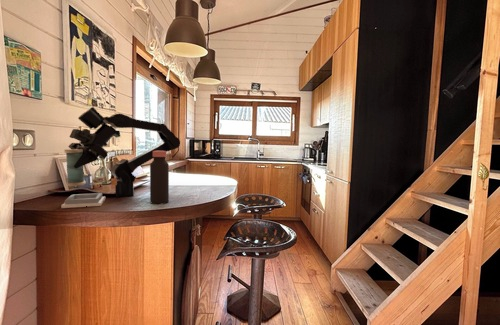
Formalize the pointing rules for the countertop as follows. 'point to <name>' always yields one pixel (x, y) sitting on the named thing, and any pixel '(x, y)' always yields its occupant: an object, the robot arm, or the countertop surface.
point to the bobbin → (73, 173)
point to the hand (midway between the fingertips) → (71, 167)
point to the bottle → (159, 178)
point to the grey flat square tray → (84, 200)
